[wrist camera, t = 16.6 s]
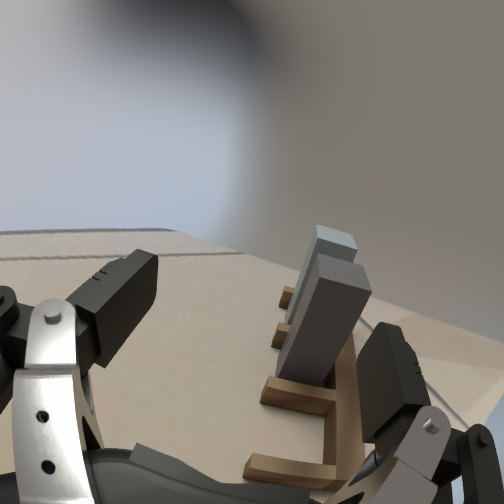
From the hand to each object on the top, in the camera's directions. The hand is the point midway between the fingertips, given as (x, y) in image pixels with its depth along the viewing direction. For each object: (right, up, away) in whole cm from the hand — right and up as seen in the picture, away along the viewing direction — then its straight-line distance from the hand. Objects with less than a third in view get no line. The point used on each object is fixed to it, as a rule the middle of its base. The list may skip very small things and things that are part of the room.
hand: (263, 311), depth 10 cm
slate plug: (+5, -7, +23) cm, 25 cm away
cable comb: (+6, -10, +16) cm, 20 cm away
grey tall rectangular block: (+4, -10, +16) cm, 19 cm away
